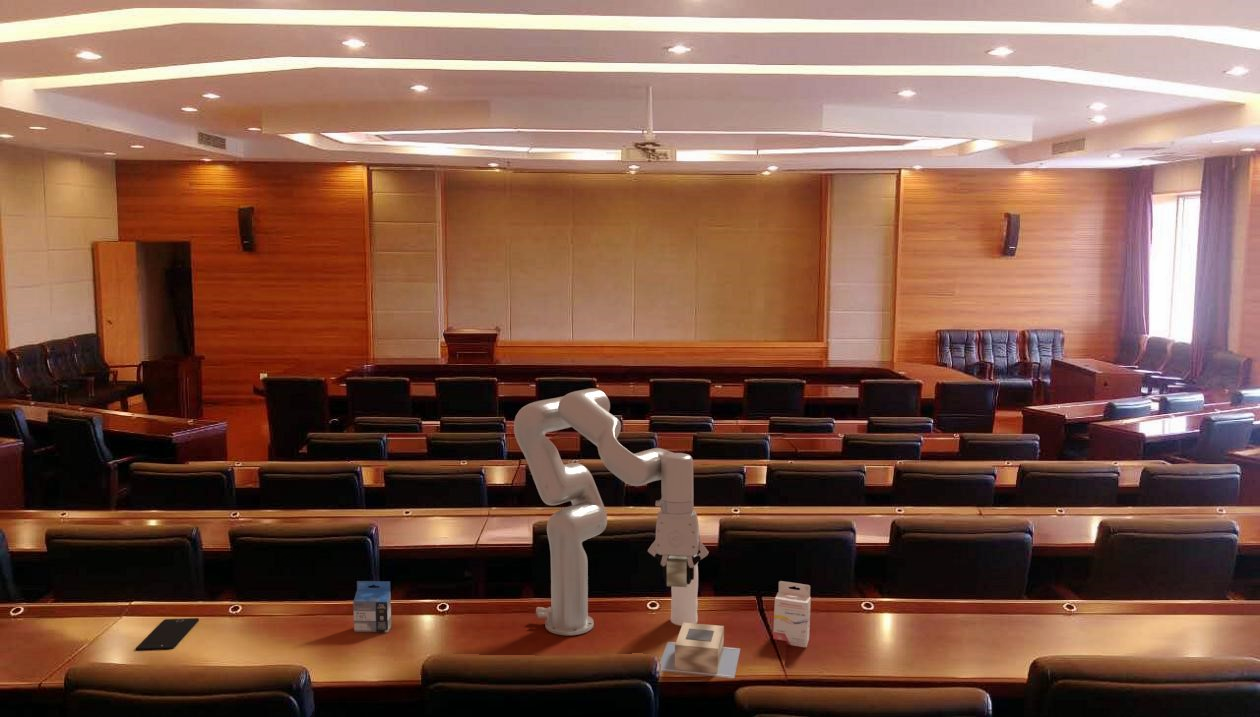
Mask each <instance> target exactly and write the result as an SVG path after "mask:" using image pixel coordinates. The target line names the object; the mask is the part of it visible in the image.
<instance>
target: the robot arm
mask: <svg viewBox="0 0 1260 717" xmlns="http://www.w3.org/2000/svg"><path fill="white" fill-rule="evenodd" d="M610 410H611V402H610V399H609V398H608V396H607V395H606V393H605V392H603V391H602V390H600V389H598V388H592V387H591V388H586V389H580V390H575V391H572V392H569V393H566V394H565V395H563V396H558V397H554V398H548V399H542V400H536V401H533V402H530V403H528V404H526V405H524V406H523V407H521V408H520V409H519V410H518V412H517V413H516V415H515V418H514V421H513V433H514V437H515V440H516V443H517V444H518V447H519V448H520V450H521V452H522V454H523V455H524V458H525V460H526V463H527V464H528V468H529V471H530V474H531V476H532V479H533V482H534V484H535V486H536V489H537V492H538V495H539V496H540V499H541V500H542V502H543V503H544V504H545V505H547V506H557V505H561V504H564V503H568V502H570V503H571V505H569V506H567V507H564V508H561V509H559V510H556V511H555V512H554V513H553V514H551V516H550V517H549V519H548V520H547V523H546V533H547V540H548V544H549V551H550V581H551V582H550V595H551V596H550V597H551V598H550V599H551V600H550V602H551V603H550V604H551V605H550V606H548V607H542V606H537V607H536V609H535V615H537V618H539V619H546V620H545V622H544V624H545V629H546V630H547V632H549V633H552V634H554V635H557V636H558V635H560V636H577V635H582V634H585V633H588V632H589V631H591V630H592V629H593V628H594V618H592V617H591V616H589V612H588V611H589V600H588V599H589V596H588V595H589V593H588V592H589V584H588V583H589V581H588V580H589V576H588V573H589V572H588V570H589V569H588V567H589V565H588V555H587V553H586V551H585V549H584V546H583V542H585V541H587V540H588V539H591V538H595V537H596V536H599V535H600V534H602V533H603V532H604V531H605V530H606V528H607V525H608V514H607V511H606V508H605V505H604V502H603V500H602V498H601V495H600V492H599V489H598V487H597V485H596V482H595V480H594V477H593V475H592V473H591V471H590V470H589V469H588V468H587V467H586V466H584V464H581V463H578V462H569V463H566V464H564V463H563V461H562V458H561V455H560V452H559V450H558V449H557V447H556V445H555V444H554V443H553V442H552V441H551V440H550V439H549V438H548V437H547V436H546V434H547V433H550V432H556V431H560V430H564V429H569V428H573V429H574V430H575V431H577V432H578V433H579V434H581V435H582V436H583V437H584V438H586V439H587V440H588V441H590V442H591V443H592V444H593V445H595V447H597V451H598V456H599V457H600V460H601V462H602V464H603V465H604V467H605V468H606V469H607V470H608V471H609V472H611V474H613V475H614V476H615V477H616V478H618V479H619V480H621V481H622V482H623V483H625V484H626V485H629V486H632V487H633V486H634V487H641V486H643V485H646V484H649V483H652V482H656V481H660V480H661V481H660V482H661V484H660V485H661V486H660V487H661V488H660V489H661V498H660V499H658V500H655V504H654V505H655V507H659V508H660V510H659V511H658V513H657V518H656V524H655V540H654V541H653V542H652V543H651V545H650V546H649V548H647V553H649V555H652V557H654V558H655V559H656V560H657V561H658V562H659V563H660V566H662V578H663V579H664V583H666V584H667V560H668V558H669V556H686V557H687V561H688V567H687V584H690V583H691V580H693V579H694V565H696V564H697V563H698V564H699V562H700V561H701V560H703V559H704V558H706V557H707V556H708V555H709V552H710V551H709V550H708V549H707V547H706V545H704V544H703V542H702V541H701V540H700V539H701V536H700V526H699V518H698V514H697V510H694V460H693V457H692V456H691V455H690V454H687V453H684V452H673V451H669V450H667V449H664V448H661V447H655V448H651V449H650V448H649V449H647V450H646V449H645V450H642V451H639V452H636V453H633V452H631V451H630V450H628V448H626V447H625V446H623V445H622V444H621V443H620V442H619V440H618V437H619V435H620V433H621V430H622V423H621V421H620V419H618V417H616V416H614V415H613V414H612V413H610ZM699 551H700V552H699ZM696 554H697V555H696ZM695 555H696V556H695ZM694 556H695V557H694ZM698 564H697V565H698Z"/></svg>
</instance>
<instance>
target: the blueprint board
mask: <svg viewBox="0 0 1260 717" xmlns="http://www.w3.org/2000/svg"><path fill="white" fill-rule="evenodd" d="M675 643H676V641H674V642H673V641H667V643H666V645H665V648H664V651H663V654H662V655H661V658H660V661H659V663H660V664H661V671H660V672H668V673H674V674H675V673H677V674H684V675H685V674H688V675H697V676H705V677H706V676H707V677H716V678H717V677H718V678H728V679H735V676H736V672H737V667H738V663H739V657H740V654H741V648H738V647H728V646H724V647H723V653H722V657H721V661H720V666H719V670H718V673H708V672H697V671H687V670H677V669H675Z"/></svg>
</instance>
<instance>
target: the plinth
mask: <svg viewBox="0 0 1260 717" xmlns="http://www.w3.org/2000/svg"><path fill="white" fill-rule="evenodd" d="M724 634H725V625H716V624H707V623H706V624H705V623H696V624H695V623H684V622H683V624H682V626H681V627H680V630H679V633H678V634H677V638H676V641H675V642H676V643H675V669H677V670H687V671H697V672H708V673H718V670H719V666H720V661H721V657H722V653H723V647H725V646H724V643H725V642H724V640H725V635H724Z"/></svg>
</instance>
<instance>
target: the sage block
mask: <svg viewBox="0 0 1260 717" xmlns="http://www.w3.org/2000/svg"><path fill="white" fill-rule="evenodd" d="M687 567H688V561H687V557H686V556H669V558H668V560H667V583H666V587H671V586H673V587H687V585H688V584H687Z"/></svg>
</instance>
